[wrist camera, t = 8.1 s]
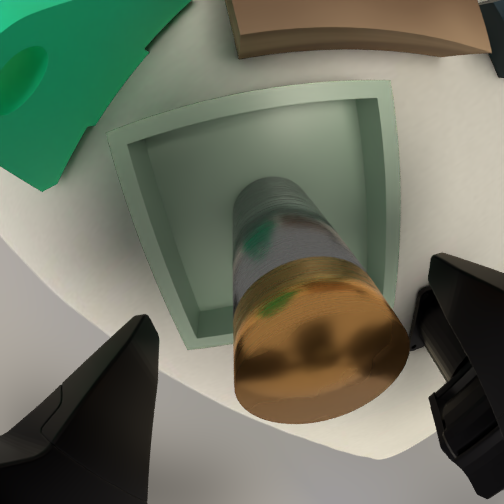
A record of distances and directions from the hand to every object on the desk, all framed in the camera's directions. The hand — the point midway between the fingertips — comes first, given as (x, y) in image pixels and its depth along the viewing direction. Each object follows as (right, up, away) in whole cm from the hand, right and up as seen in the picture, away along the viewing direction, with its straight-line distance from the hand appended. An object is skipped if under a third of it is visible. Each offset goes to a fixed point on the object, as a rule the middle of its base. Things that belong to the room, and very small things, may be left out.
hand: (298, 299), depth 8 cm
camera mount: (-11, +12, +2) cm, 16 cm away
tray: (0, +4, +7) cm, 8 cm away
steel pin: (0, +3, +6) cm, 7 cm away
